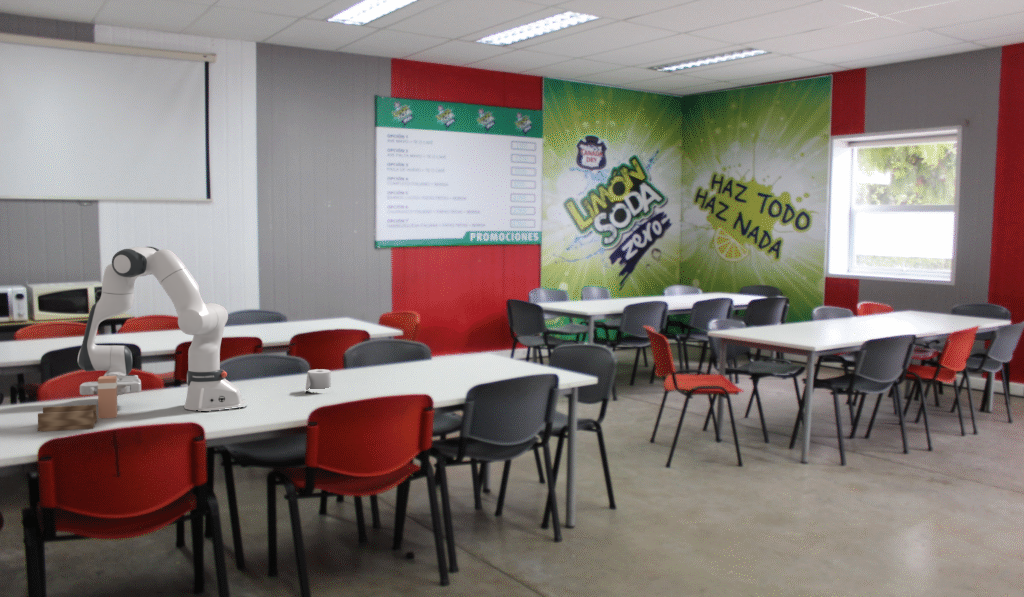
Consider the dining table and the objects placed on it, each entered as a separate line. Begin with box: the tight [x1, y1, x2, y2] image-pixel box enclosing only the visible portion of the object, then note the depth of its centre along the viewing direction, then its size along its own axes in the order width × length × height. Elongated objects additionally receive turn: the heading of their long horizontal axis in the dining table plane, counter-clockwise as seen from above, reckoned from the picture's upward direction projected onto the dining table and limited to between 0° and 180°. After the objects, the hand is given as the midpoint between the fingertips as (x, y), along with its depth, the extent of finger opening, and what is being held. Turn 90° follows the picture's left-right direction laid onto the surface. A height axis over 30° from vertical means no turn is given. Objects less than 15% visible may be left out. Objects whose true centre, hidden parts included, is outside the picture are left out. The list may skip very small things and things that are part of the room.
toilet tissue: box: [305, 368, 332, 390], centre depth 329 cm, size 9×13×9 cm
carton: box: [97, 375, 118, 419], centre depth 279 cm, size 6×6×14 cm
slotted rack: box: [37, 404, 98, 432], centre depth 265 cm, size 16×12×6 cm
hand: (109, 391), depth 283 cm, fingers open, 8 cm apart
